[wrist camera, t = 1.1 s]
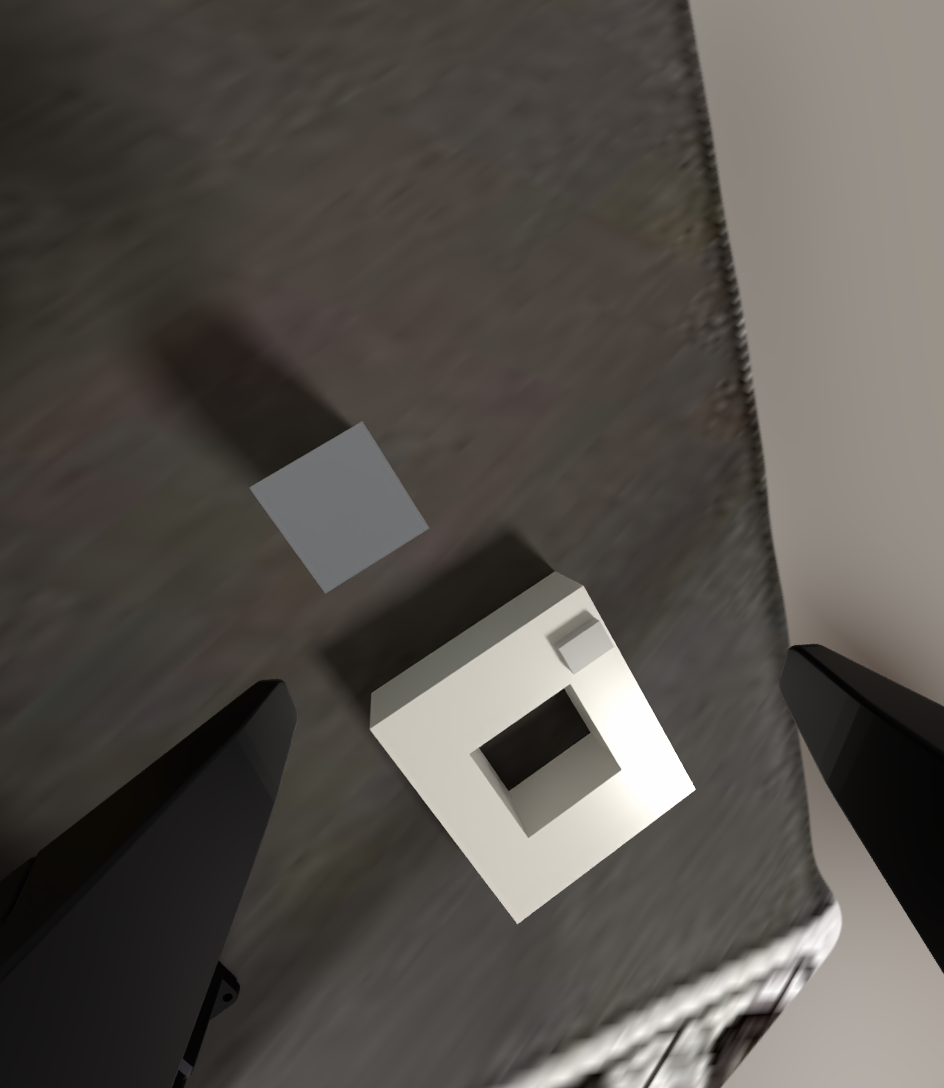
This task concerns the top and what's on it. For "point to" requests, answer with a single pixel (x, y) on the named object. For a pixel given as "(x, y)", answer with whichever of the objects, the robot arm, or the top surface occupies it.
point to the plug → (340, 507)
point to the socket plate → (561, 785)
